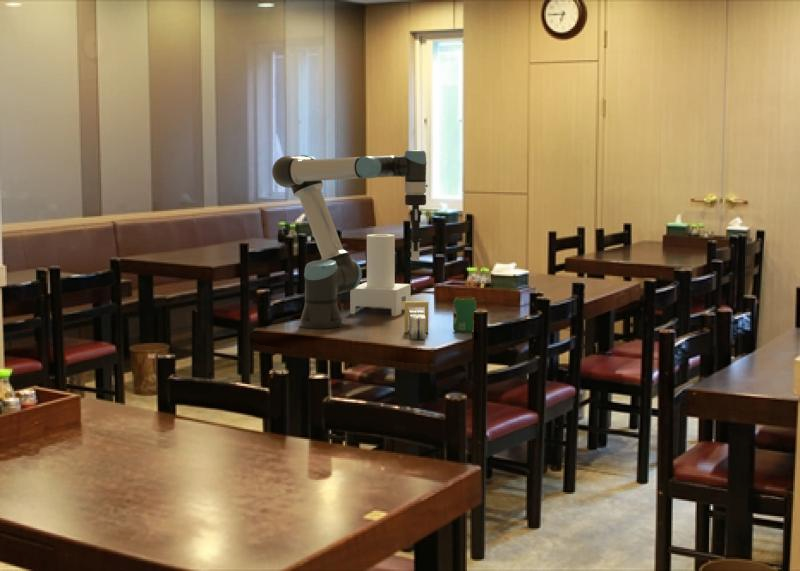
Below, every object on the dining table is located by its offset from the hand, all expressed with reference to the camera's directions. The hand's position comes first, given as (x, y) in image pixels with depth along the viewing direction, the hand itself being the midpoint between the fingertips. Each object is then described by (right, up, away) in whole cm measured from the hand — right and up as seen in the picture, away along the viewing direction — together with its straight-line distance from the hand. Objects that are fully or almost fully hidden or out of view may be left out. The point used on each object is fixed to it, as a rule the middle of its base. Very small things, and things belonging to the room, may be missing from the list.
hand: (415, 260), depth 408 cm
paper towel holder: (-13, -19, +42) cm, 48 cm away
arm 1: (-1, -26, -14) cm, 30 cm away
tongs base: (0, -25, -1) cm, 25 cm away
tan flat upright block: (0, -25, -7) cm, 26 cm away
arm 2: (+2, -26, -14) cm, 30 cm away
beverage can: (+17, -26, -5) cm, 31 cm away
